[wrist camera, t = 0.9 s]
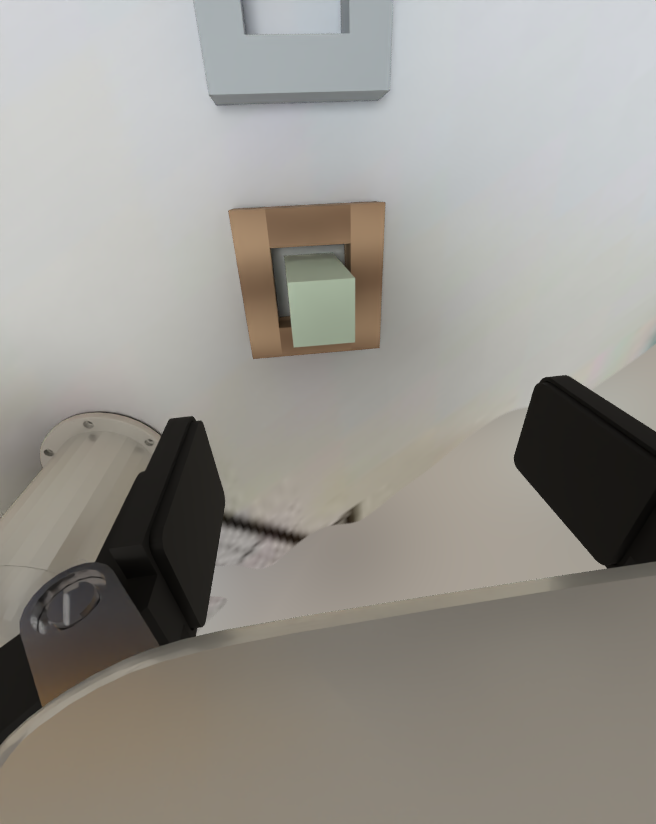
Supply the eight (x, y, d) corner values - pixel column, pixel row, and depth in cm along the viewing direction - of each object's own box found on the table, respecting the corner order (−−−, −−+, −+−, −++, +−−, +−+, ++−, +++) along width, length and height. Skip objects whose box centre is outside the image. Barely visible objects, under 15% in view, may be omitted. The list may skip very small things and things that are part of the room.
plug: (334, 301, 31) (355, 342, 23) (289, 304, 31) (293, 347, 23) (332, 252, 29) (355, 278, 21) (284, 255, 29) (287, 282, 21)
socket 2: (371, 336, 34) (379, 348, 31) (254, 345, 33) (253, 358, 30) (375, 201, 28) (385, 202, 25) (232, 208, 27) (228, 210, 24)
